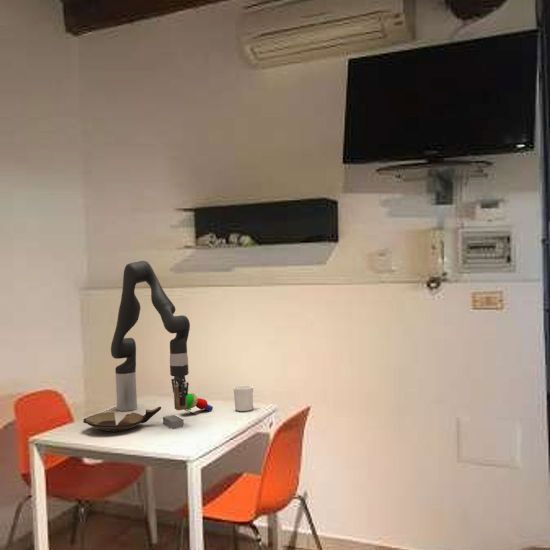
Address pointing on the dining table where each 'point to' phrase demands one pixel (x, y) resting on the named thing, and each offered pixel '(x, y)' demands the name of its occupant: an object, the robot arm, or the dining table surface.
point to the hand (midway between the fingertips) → (180, 404)
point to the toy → (197, 403)
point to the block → (178, 399)
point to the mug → (243, 398)
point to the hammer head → (173, 421)
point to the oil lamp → (130, 420)
